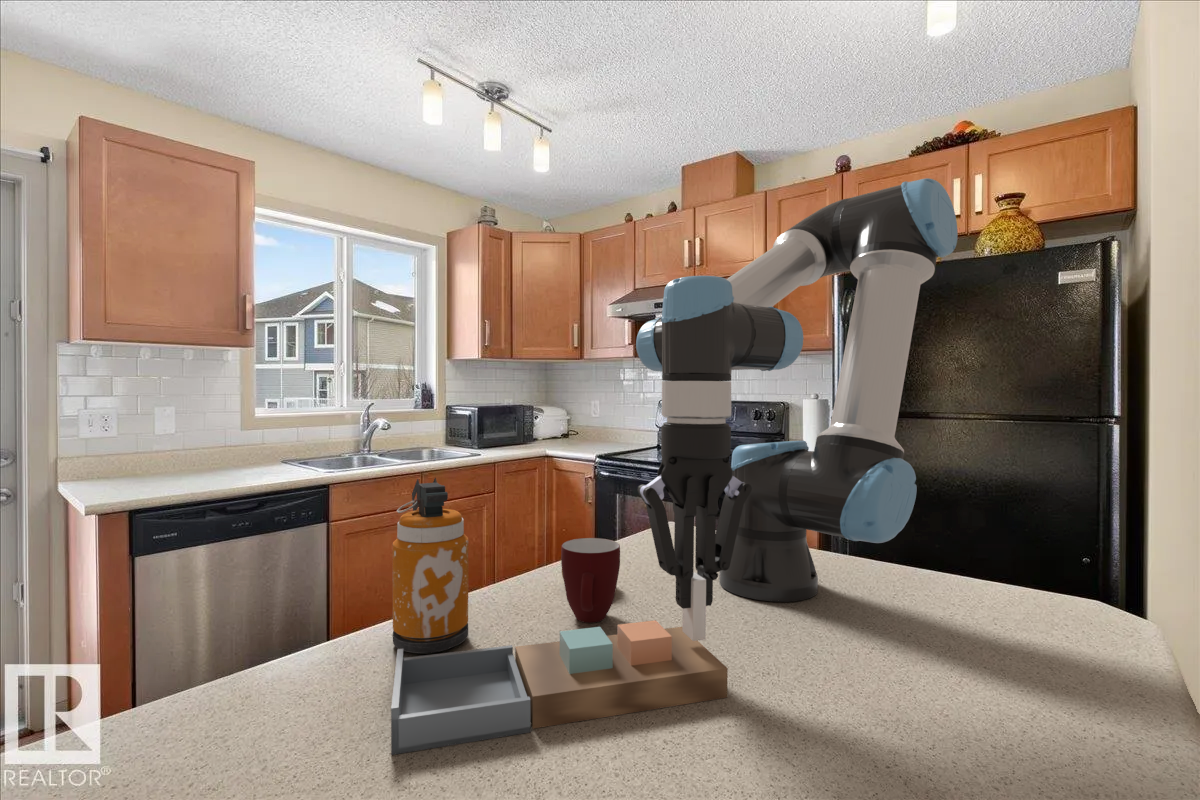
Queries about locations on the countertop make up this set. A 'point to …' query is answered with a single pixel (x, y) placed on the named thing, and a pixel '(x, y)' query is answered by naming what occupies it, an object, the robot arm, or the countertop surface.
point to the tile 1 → (586, 650)
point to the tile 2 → (644, 642)
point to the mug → (590, 576)
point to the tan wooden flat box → (617, 682)
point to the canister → (430, 574)
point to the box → (457, 699)
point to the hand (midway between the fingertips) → (693, 635)
